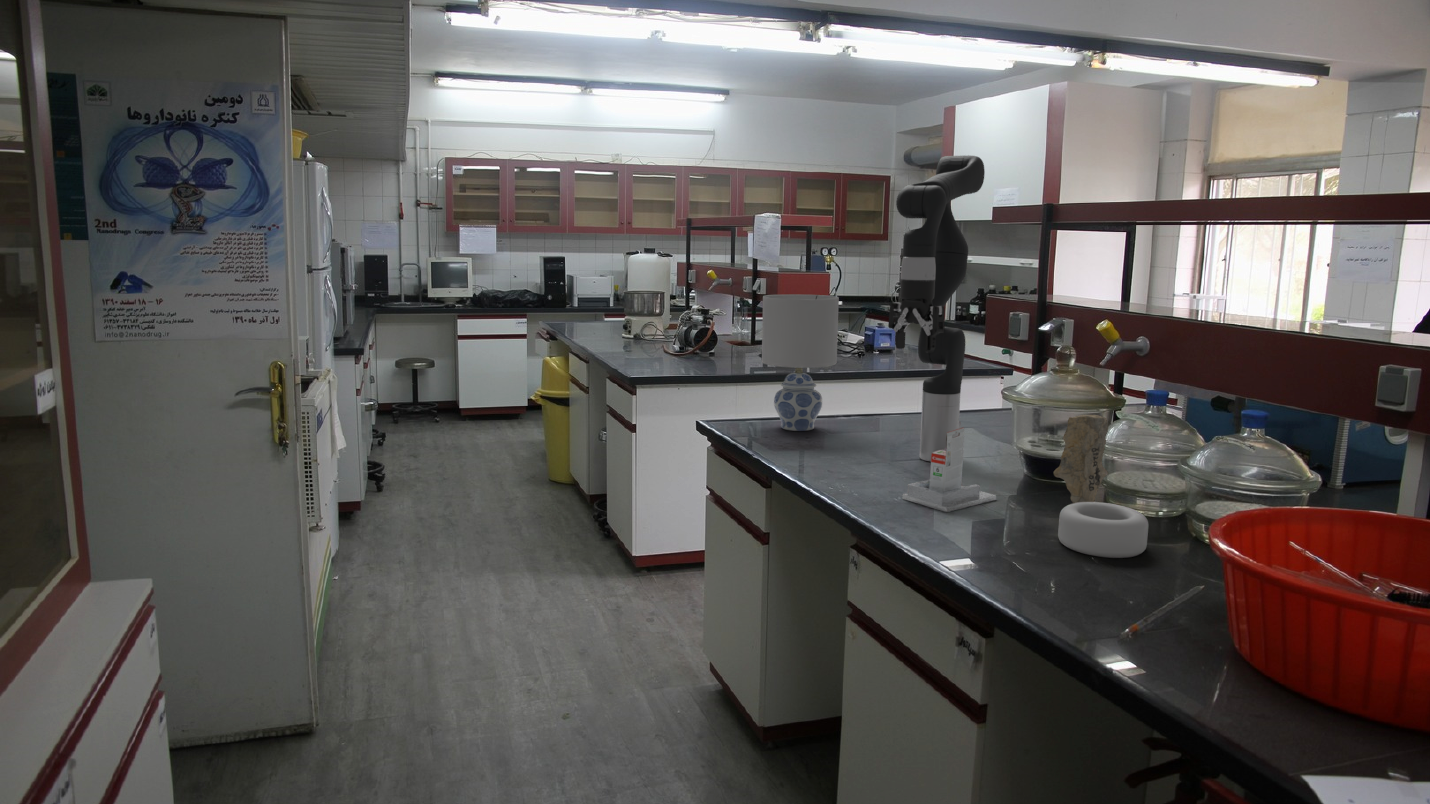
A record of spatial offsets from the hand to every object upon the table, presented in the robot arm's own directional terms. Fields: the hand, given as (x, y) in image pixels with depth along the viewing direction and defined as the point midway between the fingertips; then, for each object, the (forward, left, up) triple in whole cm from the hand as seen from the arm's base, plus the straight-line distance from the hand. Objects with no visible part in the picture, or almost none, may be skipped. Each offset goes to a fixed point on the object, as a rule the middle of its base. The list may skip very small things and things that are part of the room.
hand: (914, 350), depth 211 cm
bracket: (+5, +16, -30) cm, 34 cm away
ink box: (+6, +16, -29) cm, 34 cm away
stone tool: (-12, +36, -30) cm, 49 cm away
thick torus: (+6, +52, -30) cm, 61 cm away
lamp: (-18, -59, -30) cm, 69 cm away
